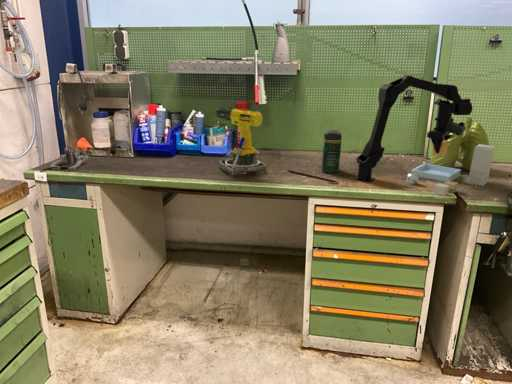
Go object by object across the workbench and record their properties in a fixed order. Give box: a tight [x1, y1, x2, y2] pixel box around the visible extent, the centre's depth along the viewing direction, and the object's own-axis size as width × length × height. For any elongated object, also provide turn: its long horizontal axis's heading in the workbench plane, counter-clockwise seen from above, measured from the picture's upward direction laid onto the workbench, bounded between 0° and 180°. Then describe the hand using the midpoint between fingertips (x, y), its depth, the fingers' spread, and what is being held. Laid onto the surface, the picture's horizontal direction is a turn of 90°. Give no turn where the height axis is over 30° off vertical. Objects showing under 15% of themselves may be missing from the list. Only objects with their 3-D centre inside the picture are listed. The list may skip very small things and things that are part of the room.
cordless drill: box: [213, 106, 268, 177], centre depth 188 cm, size 18×19×28 cm
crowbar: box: [287, 168, 339, 185], centre depth 181 cm, size 28×1×5 cm
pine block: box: [443, 181, 459, 194], centre depth 165 cm, size 4×4×4 cm
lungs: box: [429, 116, 491, 171], centre depth 195 cm, size 25×16×24 cm, turn 80°
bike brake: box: [39, 147, 89, 173], centre depth 191 cm, size 14×7×20 cm
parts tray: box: [410, 162, 462, 184], centre depth 185 cm, size 16×16×3 cm
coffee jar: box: [321, 129, 343, 174], centre depth 189 cm, size 10×8×19 cm
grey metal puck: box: [406, 172, 420, 186], centre depth 174 cm, size 4×4×4 cm
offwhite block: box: [433, 182, 449, 197], centre depth 161 cm, size 4×4×4 cm
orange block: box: [431, 140, 448, 156], centre depth 179 cm, size 4×4×6 cm
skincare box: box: [467, 144, 496, 187], centre depth 174 cm, size 8×7×16 cm
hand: (439, 152), depth 180 cm, fingers closed on orange block, 4 cm apart
